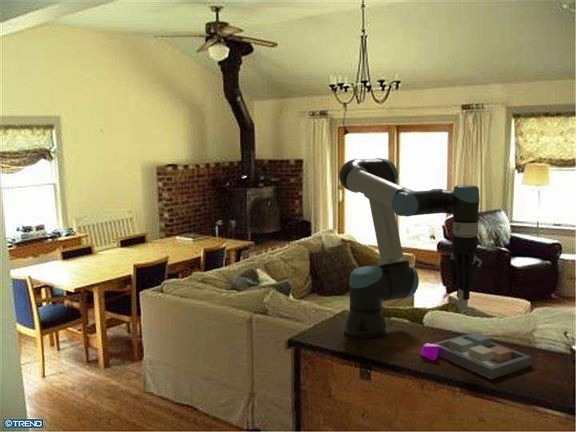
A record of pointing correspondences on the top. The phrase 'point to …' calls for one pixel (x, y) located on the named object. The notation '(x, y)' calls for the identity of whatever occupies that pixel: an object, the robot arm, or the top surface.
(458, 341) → the key sage
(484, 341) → the key slate
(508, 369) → the grey tray
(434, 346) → the crystal
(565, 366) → the top surface
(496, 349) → the key terracotta
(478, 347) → the key cream
